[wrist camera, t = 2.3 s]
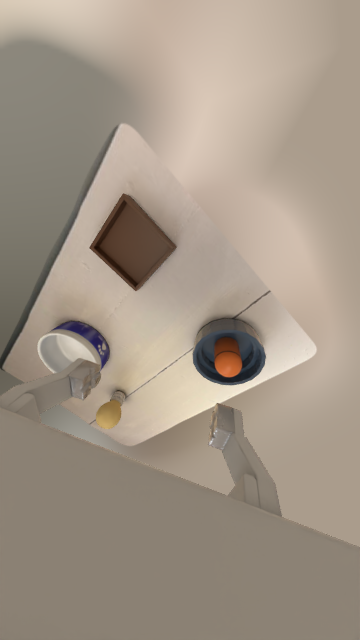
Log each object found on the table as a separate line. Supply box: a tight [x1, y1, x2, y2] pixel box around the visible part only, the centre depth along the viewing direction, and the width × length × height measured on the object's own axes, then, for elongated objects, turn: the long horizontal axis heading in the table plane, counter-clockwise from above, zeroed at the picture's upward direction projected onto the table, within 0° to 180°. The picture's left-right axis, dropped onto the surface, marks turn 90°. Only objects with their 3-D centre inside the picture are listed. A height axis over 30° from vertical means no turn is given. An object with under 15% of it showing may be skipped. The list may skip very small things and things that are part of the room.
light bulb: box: [96, 391, 125, 429], centre depth 50 cm, size 6×6×10 cm
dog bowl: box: [38, 321, 109, 373], centre depth 45 cm, size 15×15×6 cm
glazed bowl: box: [193, 319, 266, 385], centre depth 38 cm, size 14×14×5 cm
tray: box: [89, 194, 177, 291], centre depth 32 cm, size 11×11×2 cm
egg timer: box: [214, 337, 242, 377], centre depth 36 cm, size 5×5×8 cm
